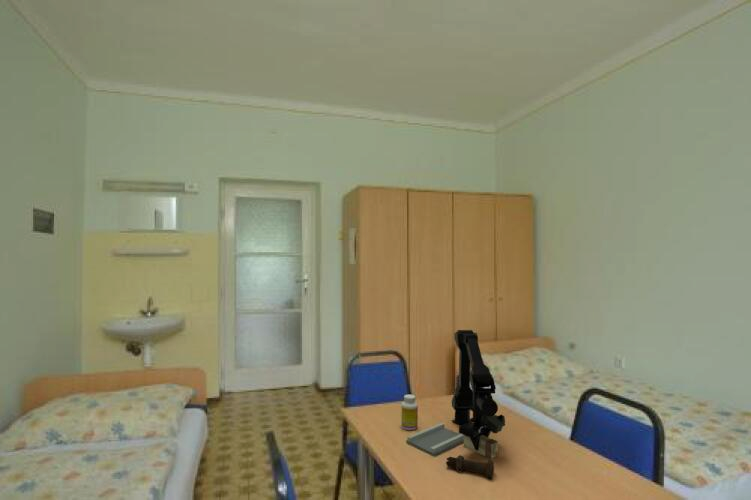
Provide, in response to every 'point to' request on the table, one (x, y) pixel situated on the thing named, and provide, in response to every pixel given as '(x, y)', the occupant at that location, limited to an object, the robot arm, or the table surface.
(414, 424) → the supplement bottle
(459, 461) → the bolt
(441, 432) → the cradle
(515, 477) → the table surface
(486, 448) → the banded block
